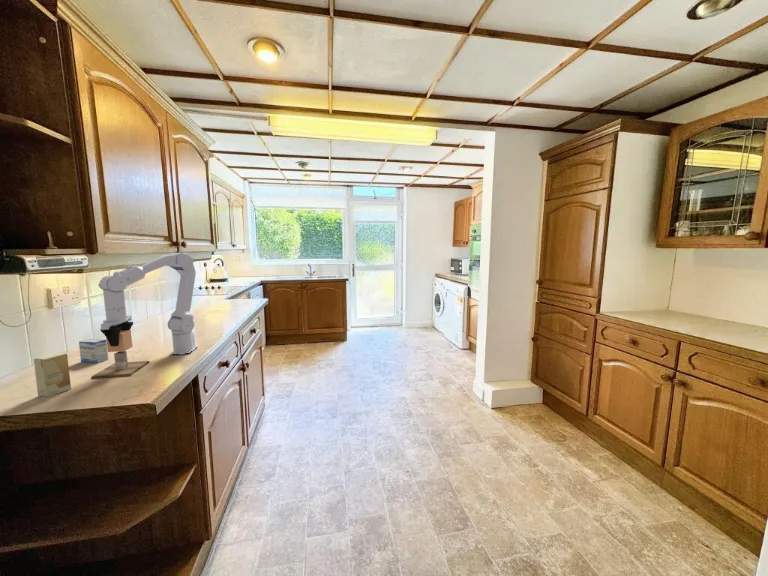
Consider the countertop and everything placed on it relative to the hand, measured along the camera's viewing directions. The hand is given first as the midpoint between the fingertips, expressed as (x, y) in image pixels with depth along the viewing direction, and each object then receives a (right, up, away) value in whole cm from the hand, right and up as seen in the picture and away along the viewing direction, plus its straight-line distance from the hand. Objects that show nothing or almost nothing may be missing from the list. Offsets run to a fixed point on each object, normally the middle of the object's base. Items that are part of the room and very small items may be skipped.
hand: (119, 343), depth 114 cm
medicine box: (-20, -9, +11) cm, 24 cm away
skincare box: (-6, -13, -16) cm, 22 cm away
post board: (0, -10, +1) cm, 10 cm away
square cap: (0, -2, 0) cm, 2 cm away
